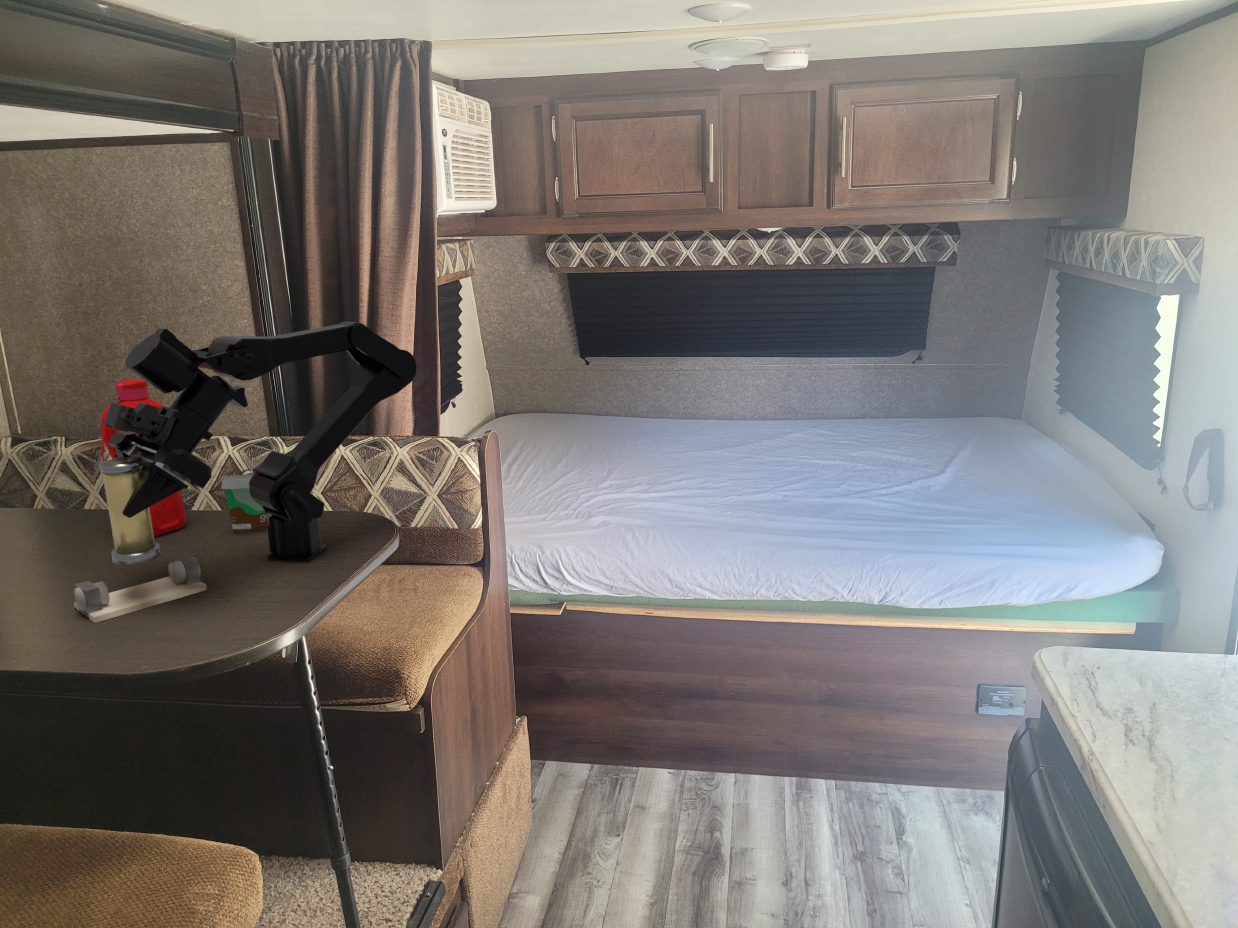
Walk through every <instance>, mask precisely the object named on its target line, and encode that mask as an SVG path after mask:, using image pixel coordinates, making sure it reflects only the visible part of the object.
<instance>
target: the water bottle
mask: <svg viewBox="0 0 1238 928" xmlns="http://www.w3.org/2000/svg"><path fill="white" fill-rule="evenodd" d="M147 383H148V382H147V381H145V380H144V379H138V378H133V379H125V380H120V381H118V382H116V383H115V389H116V396H115V398H116V400H115V401H113V403H117V404H121V405H124V406H128V407H132V408H135V407H136V406H137V405H138V404H139V403H145V404H148V405H152V406H156V407H157V409H158V408H159V407H162V406H164V405H163V404H162V403H160V402H158V401H156V400H154V399H152V398H150V397H149V391H148V390H149V389H148V387H149V386H150V384H147ZM110 405H111V404H109V405H108V406H107V407H106V408H105V409H104V410H103V412H102V414H101V418H100V421H101V422H100V427H99V428H100V432H101V448H100V449H101V459H102V460H101V461H102V462H103V461H105V457H104V444H105V446H106V448H107V451H108V453H109V455H110V458H111V459H115V458H118V455H117V454H116V448H115V447H113V446H112V445H110V444H109V443H108V442H109V441H110V440H111V438H112V437H113V436H114V435H115V433H116V432H119V431H121V430H117V429H113V428H112V427H109V426H104V423H105V420H106V417H107V414H108V411H109V408H110ZM134 433H135V432H134ZM117 450H118V449H117ZM180 491H181V490H180ZM180 491H178V492H176V493H175V494H173V495H171V496H169V497H167V498H165V499H163V500H161V501H159V502H158V503H156V504H154V505H152V506H150V507H149V508H150V515H151V521H152V528H153V534H154V537H157V536H161V535H162V534H166V533H169V532H172V531H176V530H180V529H181V528H182V527H183V526H184V525H185V524H186V523H187V522H186V520H187V514H186V513H187V512H186V508H185V503H184V499H183V496H182V495H181V492H180Z"/></svg>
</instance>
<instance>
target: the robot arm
mask: <svg viewBox="0 0 1238 928" xmlns="http://www.w3.org/2000/svg"><path fill="white" fill-rule="evenodd" d="M345 351H346V352H347V354H349V357H350V358H351V359H352V360H353V361H354V362H356V364H358V366H357V369H356V371H355V372H356V373H355V377H354V379H353V383H352V384H351V386H350V387H349V388H348V389H347V390H346V391H345V392H344V393H343V395H341V397H340V398H339V399H338V400H337V401H336V402H335V403H334V404H333V405H332V406H331V407H330V408H329V410H328V411H327V412H326V413H325V414H324V415H323V416H322V417H321V418H320V419H319V420H318V422H316V424H314V426H313V427H312V428H311V429H310V430H309V431H308V432H307V434H306V435H305V436H303V438H302V439H301V440H299V442H298V443H297V445H295V447H293V448H292V449H291V450H289V451H288V452H285V453H282V452H279V451H276V450H271V451H270V452H269V453H268V454H267V456H266V457H265V458H264V459H265V460H264V461H263V462H262V461H261V463H260V464H259V465H258V466H256V468H255V467H253V468H254V469H253V471H254V472H256V473H255V474H254V475H253V476H252V478H251V479H250V482H249V485H250V486H249V492H250V495H251V497H252V499H253V500H254V501H255V502H256V503H258V504H260V505H261V506H262V508H263V510H264V512H265V513H267V514H271V515H272V516H270V517H269V526H268V527H267V530H266V531H267V538H268V549H269V552H270V554H269V555H267V556H266V559H267V560H268V561H286V562H287V561H289V562H308V561H310V560H312V559H313V558H314V557H316V556H317V555H319V554H320V553H321V552H322V551H323V550H325V549H326V548H327V545H326V543H321V536H320V535H321V534H320V526H319V525H320V524H319V518H322V516H323V512H324V510H325V509H324V508H325V502H323V501H322V500H321V499H319V498H318V497H316V496H315V495H314V494H313V493H312V491H313V490H314V488H315V485H316V481H317V479H318V478H317V477H318V474H319V471H320V469H321V467H322V466H323V465H324V464H325V463H326V462H327V461H328V460H329V458H330V457H331V456H332V455H333V454H334V453H335V452H336V450H338V448H339V447H340V446H341V445H342V444H343V443H344V442H345V441H346V440H347V438H349V436H350V435H351V434H352V433H353V432H354V431H355V429H356V428H358V426H359V425H360V424H361V423H362V422H363V421H364V419H365V418H366V417H367V416H368V415H369V414H370V412H372V410H373V409H374V408H375V407H376V406H377V405H378V404H379V403H380V402H382V401H384V400H387V399H389V398H391V397H393V396H394V395H396V394H398V393H400V392H401V391H403V390H404V389H405V388H406V387H407V386H408V385H409V384H411V383H412V382H413V381H414V379H416V376H417V374H418V373H417V372H418V371H417V362H416V359H415V357H414V355H413V354H412V353H411V352H410V351H408V350H407V349H406V350H405V349H400V348H399V347H397V346H396V344H393V343H392V342H390V341H388V340H387V339H385V338H384V337H382V336H380V335H379V334H377V333H375V332H374V331H373V330H372V329H370V328H369V327H368V326H366V325H365V323H364V324H363V323H361V322H356V321H355V322H354V321H341V322H339V323H338V324H337V323H336V324H333V325H328V326H322V327H316V328H312V329H311V328H310V329H305V330H301V331H294V332H289V333H283V334H278V335H273V336H257V335H255V336H253V335H252V336H251V335H221V336H219V337H216V338H214V339H213V340H212V341H211V343H210V345H209V346H207V347H206V346H205V347H201V348H198V349H193V350H192V349H191V348H189V347H188V346H187V345H185V343H183V342H182V341H180V340H179V339H178V338H177V336H176V335H175V334H174V333H173V332H171V330H169V329H168V328H163V327H158V328H157V329H156V331H155V332H154V333H153V334H150V335H149V336H147V337H145V338H144V339H143V340H142V341H141V342H140V343H137V344H136V345H134V347H133V348H132V349H131V351H130V352H129V353H128V355H127V356H126V359H125V367H126V368H127V369H129V370H130V371H131V372H132V373H134V374H136V375H137V376H139V377H140V378H141V379H142V380H145V381H146V382H147V383H148V384H149V385H151V386H153V387H154V388H155V389H157V390H158V391H159V392H160V393H162V394H169V393H170V394H171V393H172V392H173V393H178V395H177V396H176V398H175V399H174V400H173V401H172V403H171V404H170V405H169V407H168V406H164V405H163V406H162V407H159V408H158V409H157V407H156V406H152V405H148V404H145V403H139V404H138V405H137V406H136V407H135V408H132V407H128V406H124V405H121V404H117V403H114V401H111V403H110V404H109V405H110V408H109V411H108V414H107V417H106V420H105V423H104V426H109V427H112V428H113V429H117V430H121V431H119V432H116V433H115V435H114V436H113V437H112V438H111V440H110V441H109V442H108V443H109V444H110V445H112V446H113V447H115V448H116V454H117V455H118V458H122V457H141V458H143V459H142V469H143V477H142V478H141V480H140V482H139V484H138V485H137V487H136V489H135V490H134V492H133V494H132V495H131V497H130V499H129V501H128V502H127V504H126V506H125V508H124V510H123V512H122V514H123V515H125V516H126V517H128V518H131V517H133V516H134V515H136V514H138V513H140V512H142V511H143V510H145V509H147V508H149V507H150V506H152V505H154V504H156V503H158V502H159V501H161V500H163V499H165V498H167V497H169V496H171V495H173V494H175V493H176V492H178V491H182V490H187V489H188V488H189V487H190V485H188V484H186V481H188V480H189V481H190V484H191V485H193V486H194V487H197V488H200V489H202V490H203V489H205V487H206V486H207V485H208V483H209V481H210V480H211V479H212V478H213V477H212V471H211V466H210V465H208V464H206V463H205V462H203V461H202V460H200V459H199V458H198V457H196V456H194V454H193V452H194V451H195V450H196V449H197V448H198V447H199V445H200V444H201V442H202V441H203V440H204V441H210V440H211V439H212V437H213V435H214V434H213V433H211V432H210V430H211V429H212V427H213V426H214V425H215V423H216V422H217V421H218V420H219V418H220V417H221V415H222V414H223V413H224V411H225V410H226V408H227V407H228V406H229V405H230V404H231V405H233V406H237V407H241V408H247V407H248V405H249V404H248V401H247V400H248V399H247V397H246V387H243V386H238V385H236V386H233V385H232V384H230V383H228V382H227V381H226V380H224V378H228V379H235V380H238V381H251V380H255V379H257V378H260V377H261V376H264V375H266V374H269V373H272V372H273V371H274V370H276V369H277V368H279V367H281V366H283V365H285V364H288V363H292V362H296V361H301V360H306V359H311V358H316V357H320V356H324V355H325V356H326V355H330V354H335V353H339V352H345ZM200 368H201V369H205V370H211V371H212V372H213V373H215V374H216V375H212V376H209V375H208V374H207V373H206V372H204V371H203V370H201V369H200ZM222 377H224V378H222ZM134 432H135V433H134ZM117 449H118V450H117ZM107 508H108V503H107Z"/></svg>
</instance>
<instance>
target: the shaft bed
mask: <svg viewBox="0 0 1238 928" xmlns="http://www.w3.org/2000/svg"><path fill="white" fill-rule="evenodd" d="M198 561H199V560H198V559H196V557H194V556H189V555H186V554H185V555H181V556H177V557H174V561H171V562H170V563H169V564H168V566H167V568H168V575H169V576H165V577H163V578H160V579H159V578H158V579H155V580H151V581H148V582H144V583H141V584H137V585H133V586H130V587H126V588H122V589H119V590H115V591H111V592H109V589H108V587H107V585H106V583H105V581H102V580H101V581H98V582H97V581H96V582H94V583H92V582H91V581H90V580H87V581H86V580H85V581H81V582H78V583H74V592H73V595H74V598H75V599H74V600H75V601H74V602H73V606H74V609H75V608H76V609H77V610H78V611H77V610H76V609H75V610H76V611H77V612H79V611H80V612H81V613H80V612H79V613H80V614H81V615H83V616H84V615H85V616H84V617H86V618H87V619H88V618H89V620H90V621H91V622H93V623H94V624H96V623H100V622H103V621H106V620H110V619H112V618H116V617H120V616H123V615H126V614H130V613H133V612H137V611H140V610H144V609H147V608H150V607H153V606H158V605H160V604H163V603H167V602H171V601H174V600H178V599H181V598H185V597H187V596H188V597H189V596H190V595H191V596H192V595H195V594H198V593H200V592H201V593H202V592H205V591H208V589H207V588H208V587H207V584H206V583H204V582H202V581H201V574H202V573H201V572H202V571H201V567H200V564H199V562H198Z"/></svg>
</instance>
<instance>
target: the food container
mask: <svg viewBox="0 0 1238 928" xmlns="http://www.w3.org/2000/svg"><path fill="white" fill-rule="evenodd" d="M264 460H265V458H264V459H263V458H261V463H262V462H263V461H264ZM256 467H257V466H256ZM256 467H253V468H247V469H244V470H241V472H239V473H238V474H236V475H222V480H221V490H224V493H225V498H226V504H227V508H228V514H229V519H230V524H231V528H232V532H233V533H232V535H233V534H235V535H236V534H239V535H240V534H252V533H253V534H254V533H259V532H264V531H267V527H268V526H269V517H270V516H272V515H271V514H267V513H265V512H264V510H263V508H262V506H261V505H260V504H258V503H256V502H255V501H254V500H253V499H252V497H251V495H250V492H249V486H250V485H249V482H250V479H251V478H252V476H253V475H254V474H255V473H256V472H254V471H253V469H254V468H256Z"/></svg>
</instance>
